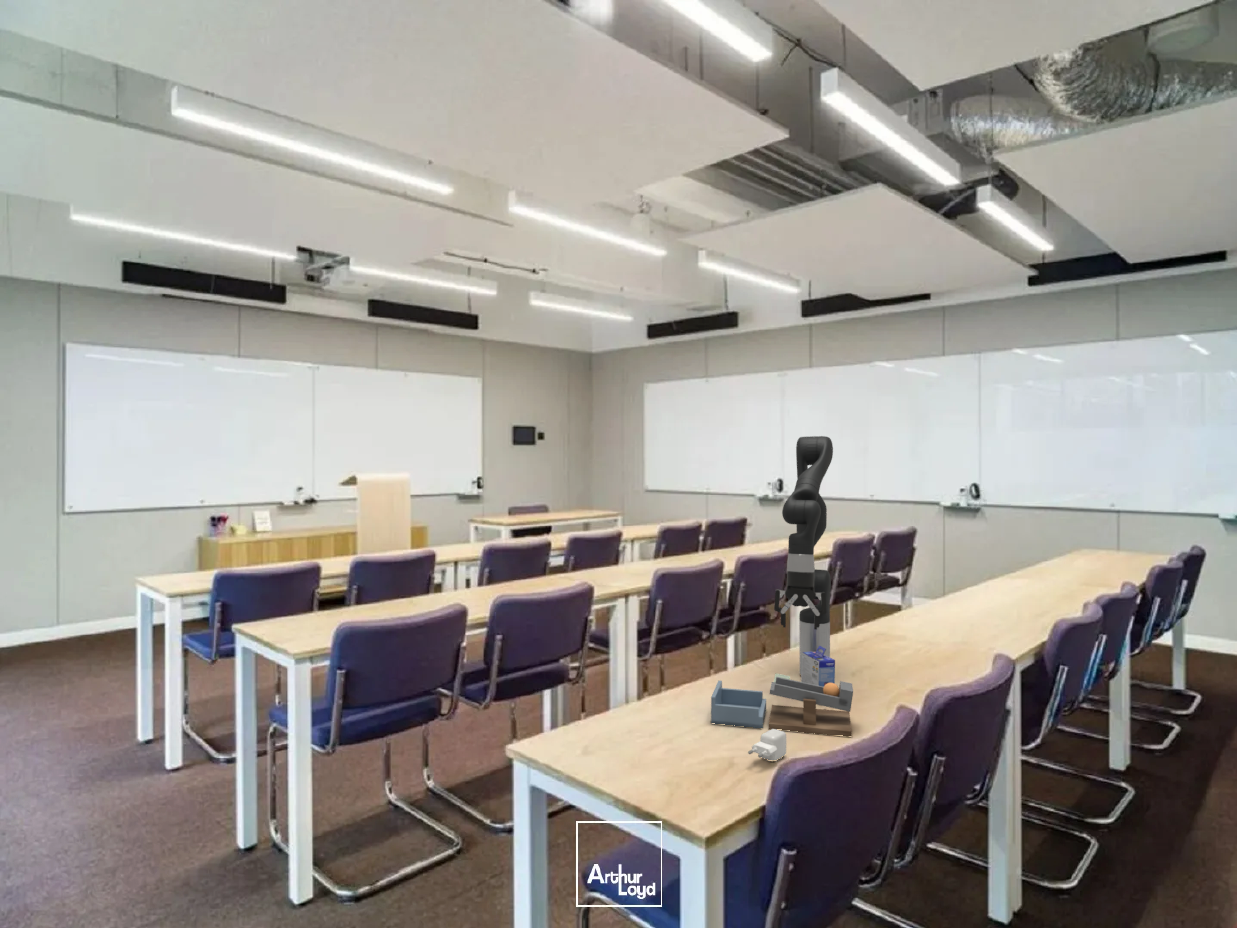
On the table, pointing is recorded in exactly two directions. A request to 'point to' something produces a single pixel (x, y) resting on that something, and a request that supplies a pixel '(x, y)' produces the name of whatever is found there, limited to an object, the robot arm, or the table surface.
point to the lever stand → (810, 719)
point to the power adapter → (771, 745)
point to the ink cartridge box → (817, 668)
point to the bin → (737, 707)
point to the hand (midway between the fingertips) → (799, 628)
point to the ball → (831, 689)
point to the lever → (812, 692)
